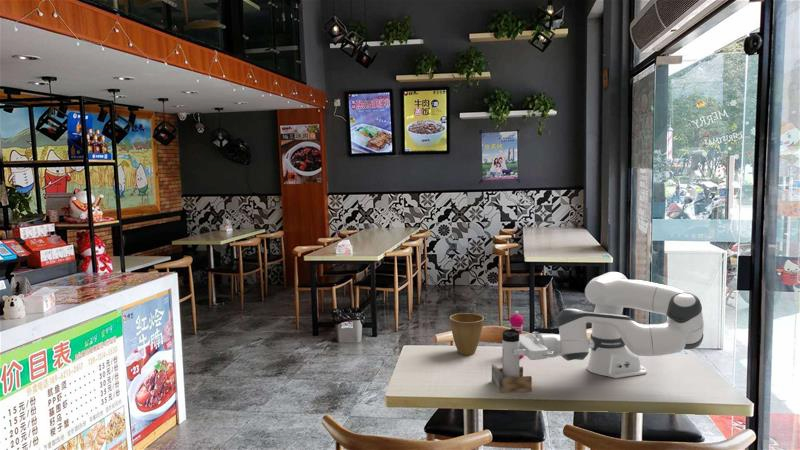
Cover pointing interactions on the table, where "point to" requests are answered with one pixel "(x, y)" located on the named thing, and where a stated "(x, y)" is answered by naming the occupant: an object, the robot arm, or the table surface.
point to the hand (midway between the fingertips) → (509, 348)
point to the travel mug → (510, 353)
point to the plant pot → (466, 331)
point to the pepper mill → (517, 323)
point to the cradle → (511, 381)
